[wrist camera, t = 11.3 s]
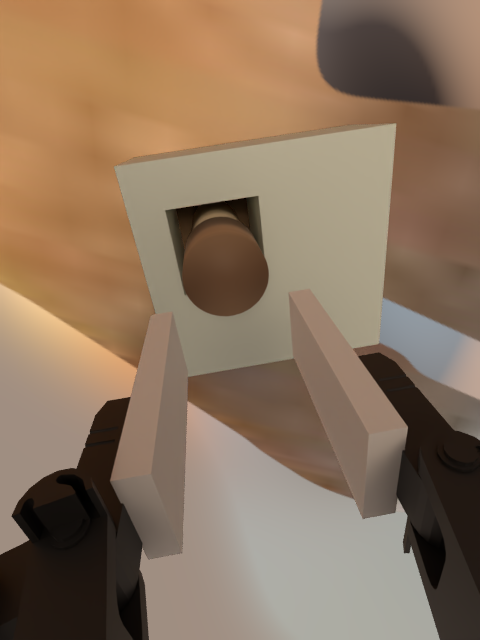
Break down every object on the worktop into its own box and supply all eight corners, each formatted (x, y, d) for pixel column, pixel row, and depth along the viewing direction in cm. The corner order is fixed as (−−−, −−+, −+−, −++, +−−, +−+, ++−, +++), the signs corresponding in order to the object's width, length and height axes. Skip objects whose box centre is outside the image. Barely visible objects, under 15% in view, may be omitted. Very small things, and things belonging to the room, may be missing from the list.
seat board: (133, 157, 25) (113, 166, 19) (349, 124, 26) (396, 123, 20) (178, 332, 33) (174, 379, 26) (345, 304, 33) (378, 343, 27)
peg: (182, 198, 27) (173, 242, 17) (238, 190, 27) (264, 228, 17) (193, 253, 29) (191, 322, 19) (245, 244, 29) (272, 308, 19)
